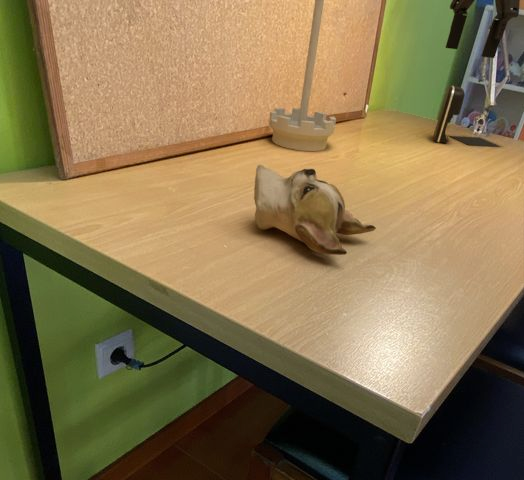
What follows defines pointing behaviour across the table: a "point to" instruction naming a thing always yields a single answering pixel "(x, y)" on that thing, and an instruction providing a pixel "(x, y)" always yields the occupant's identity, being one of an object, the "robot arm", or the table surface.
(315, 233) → the ceramic sculpture
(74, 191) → the table surface
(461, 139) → the mat
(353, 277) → the table surface
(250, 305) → the table surface
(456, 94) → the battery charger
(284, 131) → the flag stand
